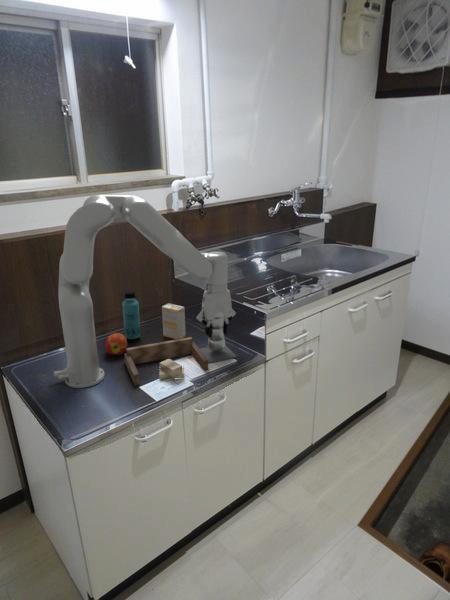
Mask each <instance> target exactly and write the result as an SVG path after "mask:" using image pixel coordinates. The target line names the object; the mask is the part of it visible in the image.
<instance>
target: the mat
mask: <svg viewBox="0 0 450 600" xmlns="http://www.w3.org/2000/svg"><path fill="white" fill-rule="evenodd" d="M199 349H200V350H201V351H202V353H203V354H204V355H205V356H206V358H207V359H208V360H209V364H213V363H219V362H222V361H228V360H233V359H237V355H236V354H235V353H234V352H233V351H232V350H231V349H230V348H229V347H228V346H227V344H225V347H224V349H223V350H222V351H218V352H215V351H211V350H210V349H209V348H208V346H207V347H202V348H199Z"/></svg>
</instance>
